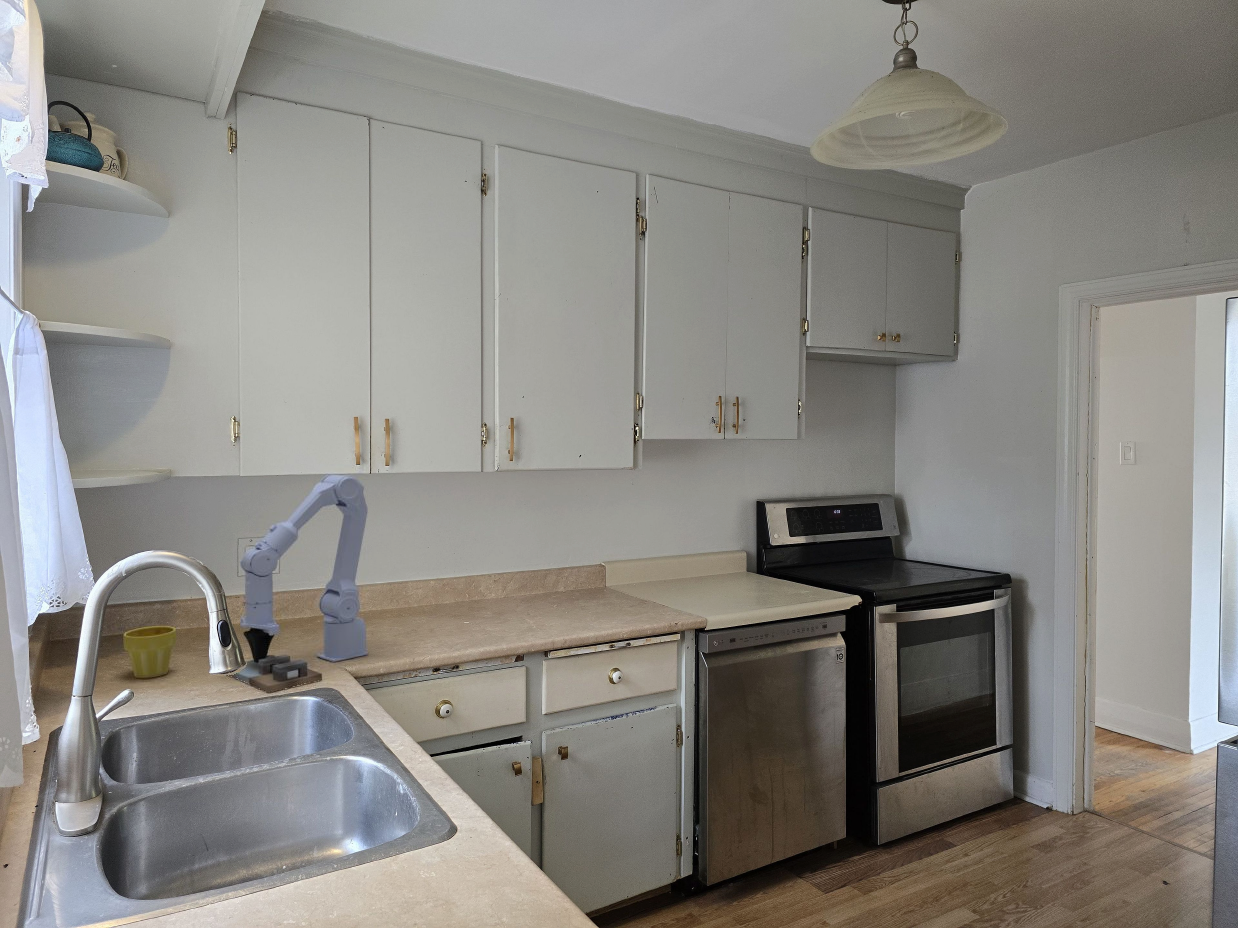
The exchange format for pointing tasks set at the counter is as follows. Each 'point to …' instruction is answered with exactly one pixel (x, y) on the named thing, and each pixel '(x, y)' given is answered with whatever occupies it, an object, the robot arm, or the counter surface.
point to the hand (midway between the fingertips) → (259, 661)
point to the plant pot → (150, 650)
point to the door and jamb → (276, 673)
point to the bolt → (289, 673)
